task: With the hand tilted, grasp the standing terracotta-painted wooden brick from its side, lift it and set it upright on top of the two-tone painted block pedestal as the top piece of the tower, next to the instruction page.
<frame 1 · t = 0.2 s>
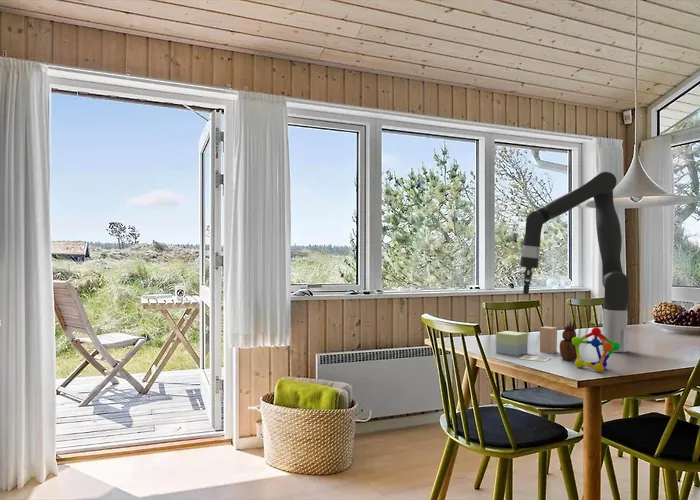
hand: (525, 293, 243), 23 cm above the table, fingers open, 8 cm apart
instruction page: (534, 358, 213), on the table
brick: (548, 351, 228), on the table
wooden figurine: (568, 360, 211), on the table
pedestal: (511, 352, 224), on the table
educational toy: (595, 369, 196), on the table
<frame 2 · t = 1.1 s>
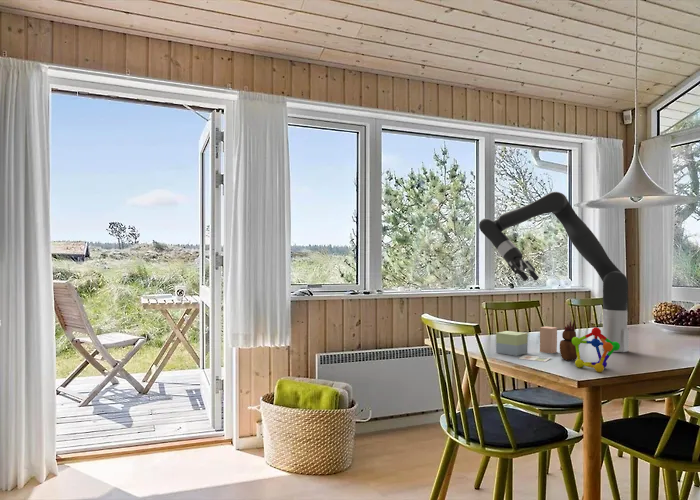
hand: (532, 279, 243), 29 cm above the table, fingers open, 8 cm apart
nothing on the table moved.
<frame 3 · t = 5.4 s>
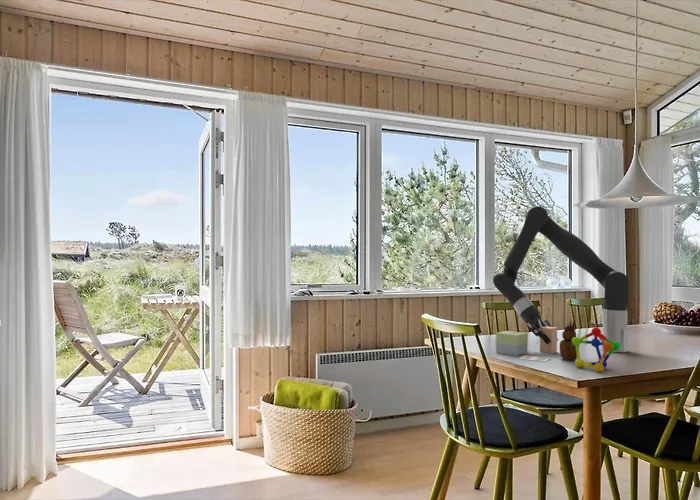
hand: (552, 342, 227), 4 cm above the table, fingers closed on brick, 5 cm apart
brick: (548, 351, 228), on the table, touching gripper
everything else where it was.
when the fingers open (13 cm above the table, at t = 11.8 s): brick stays where it is, resting on pedestal.
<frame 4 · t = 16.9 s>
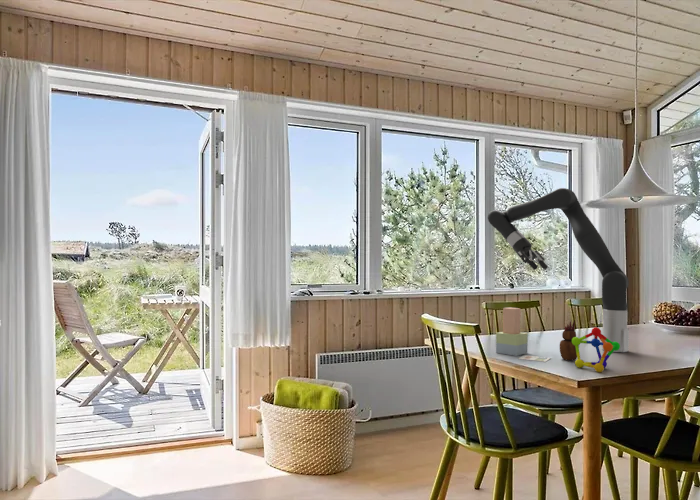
hand: (541, 268, 247), 34 cm above the table, fingers open, 8 cm apart
brick: (511, 333, 225), point 8 cm above the table, touching pedestal
everything else where it was.
at the end: brick inside the target area on the pedestal (0.1 cm from its centre), point 8.0 cm above the pedestal's base; brick tilted 0°; the gripper is holding nothing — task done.
